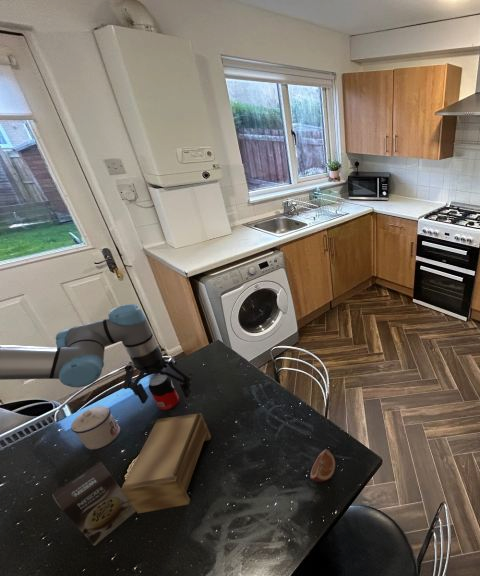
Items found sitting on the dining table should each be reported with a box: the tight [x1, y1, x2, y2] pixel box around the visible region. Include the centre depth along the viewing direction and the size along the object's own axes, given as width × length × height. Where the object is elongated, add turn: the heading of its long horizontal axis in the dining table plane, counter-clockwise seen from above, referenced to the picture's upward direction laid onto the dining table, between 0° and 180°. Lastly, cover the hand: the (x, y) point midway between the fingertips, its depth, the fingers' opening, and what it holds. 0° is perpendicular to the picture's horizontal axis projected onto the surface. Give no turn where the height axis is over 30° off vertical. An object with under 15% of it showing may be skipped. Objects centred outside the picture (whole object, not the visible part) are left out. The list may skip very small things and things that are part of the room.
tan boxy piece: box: [120, 412, 212, 514], centre depth 86 cm, size 12×20×12 cm, turn 11°
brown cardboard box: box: [52, 461, 137, 546], centre depth 74 cm, size 9×6×16 cm
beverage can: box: [148, 373, 180, 411], centre depth 106 cm, size 6×6×12 cm
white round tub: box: [70, 405, 121, 450], centre depth 96 cm, size 12×9×12 cm
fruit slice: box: [309, 448, 336, 483], centre depth 87 cm, size 8×7×5 cm
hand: (167, 397), depth 107 cm, fingers open, 13 cm apart
